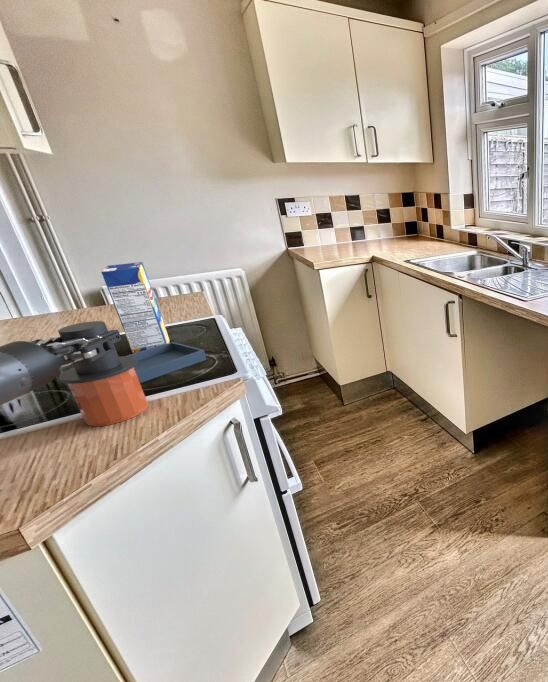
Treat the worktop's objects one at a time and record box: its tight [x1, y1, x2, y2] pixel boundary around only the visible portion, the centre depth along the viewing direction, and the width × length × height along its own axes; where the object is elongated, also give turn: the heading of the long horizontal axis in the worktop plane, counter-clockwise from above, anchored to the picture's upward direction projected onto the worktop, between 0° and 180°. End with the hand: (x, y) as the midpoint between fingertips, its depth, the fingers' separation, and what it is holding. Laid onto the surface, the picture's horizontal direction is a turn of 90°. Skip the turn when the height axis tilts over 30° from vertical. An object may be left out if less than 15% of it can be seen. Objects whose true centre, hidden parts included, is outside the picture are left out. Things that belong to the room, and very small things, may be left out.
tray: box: [126, 341, 208, 384], centre depth 99 cm, size 19×14×3 cm
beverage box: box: [100, 261, 171, 354], centre depth 108 cm, size 7×11×22 cm, turn 36°
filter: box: [57, 320, 138, 385], centre depth 76 cm, size 11×11×12 cm
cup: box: [67, 367, 149, 427], centre depth 79 cm, size 9×9×9 cm
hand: (99, 335), depth 77 cm, fingers closed on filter, 6 cm apart
